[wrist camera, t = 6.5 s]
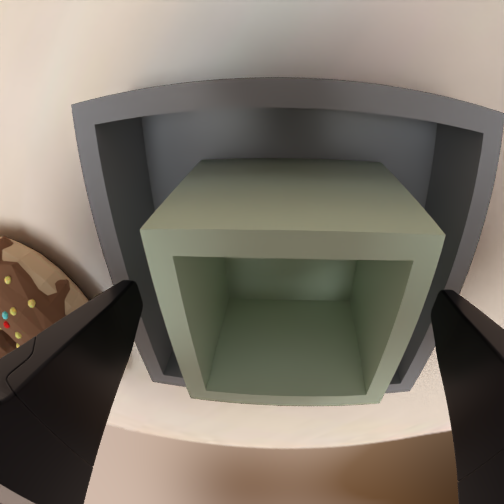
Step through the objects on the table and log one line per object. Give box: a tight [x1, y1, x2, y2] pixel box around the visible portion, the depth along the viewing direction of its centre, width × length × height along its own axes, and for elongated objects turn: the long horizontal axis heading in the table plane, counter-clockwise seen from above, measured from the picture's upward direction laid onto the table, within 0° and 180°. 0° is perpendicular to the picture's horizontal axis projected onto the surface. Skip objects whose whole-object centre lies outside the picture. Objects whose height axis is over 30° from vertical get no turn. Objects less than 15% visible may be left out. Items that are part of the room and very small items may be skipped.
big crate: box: [71, 77, 504, 393], centre depth 10 cm, size 11×11×4 cm
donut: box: [0, 236, 89, 358], centre depth 15 cm, size 14×14×5 cm
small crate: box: [140, 158, 446, 406], centre depth 9 cm, size 6×6×5 cm
